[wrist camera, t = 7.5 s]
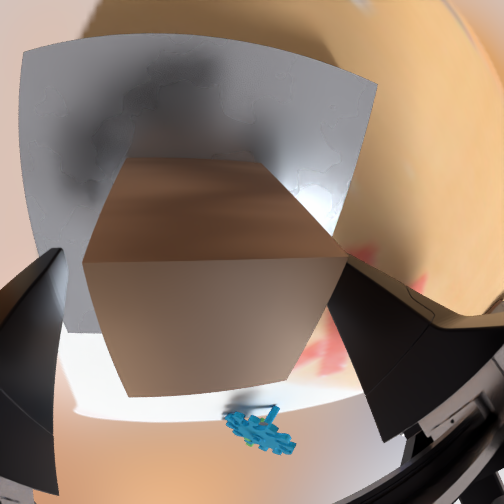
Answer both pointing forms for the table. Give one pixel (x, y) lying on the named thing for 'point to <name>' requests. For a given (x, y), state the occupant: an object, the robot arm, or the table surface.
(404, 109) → the table surface
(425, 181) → the table surface
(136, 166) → the walnut block
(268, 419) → the blue spiky blob
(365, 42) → the table surface
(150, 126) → the base plate
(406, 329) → the robot arm
